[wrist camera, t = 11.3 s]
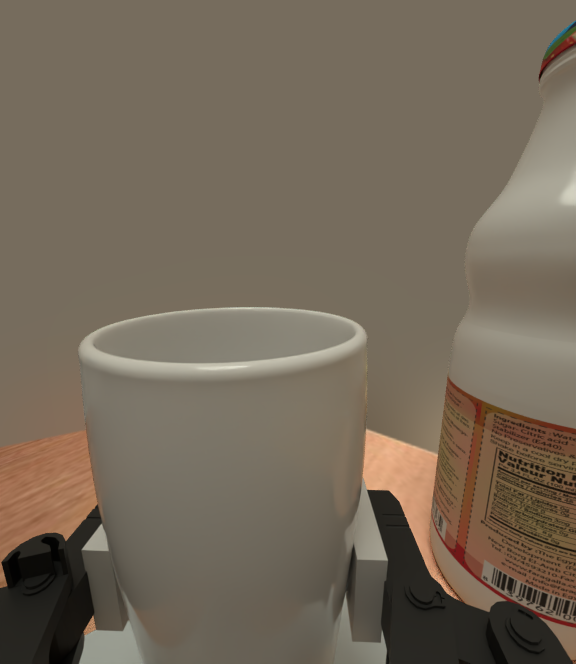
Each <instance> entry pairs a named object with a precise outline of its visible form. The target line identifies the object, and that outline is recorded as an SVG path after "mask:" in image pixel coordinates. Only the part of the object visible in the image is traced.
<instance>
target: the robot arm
mask: <svg viewBox="0 0 576 664" xmlns="http://www.w3.org/2000/svg"><path fill="white" fill-rule="evenodd" d="M1 563H2V566H3V570H4V574H5V578H6V582H7V587H3V588H0V664H79V662H80V659H81V655H82V652H83V649H84V641H85V637H84V632H83V631H84V630H85V628H86V626H87V625H88V623H89V621H90V620H91V618H92V616H93V615H94V620H95V626H96V630H103V631H123V630H124V628H125V626H126V624H127V622H128V620H129V619H128V616H127V613H126V609H125V606H124V603H123V599H122V596H121V593H120V589H119V586H118V583H117V579H116V576H115V572H114V569H113V565H112V562H111V558H110V554H109V550H108V546H107V542H106V538H105V534H104V530H103V526H102V521H101V517H100V512H99V507H98V504H97V505H96V506H95V509H93V510H92V511H91V512H90V514H89V515H88V516H87V518H86V519H85V520H84V521H83V522H82V523H81V524H80V525H79V527H78V528H77V529H76V530H75V531H74V533H73V534H72V535H71V536H70V537H69V538H68V540H67V541H65V539H64V537H63V535H61V534H58V533H45V534H42V535H39V536H36V537H33V538H31V539H29V540H28V541H26V542H24V543H22V544H20V545H19V546H18V547H17V548H15V549H14V550H13V551H11V552H10V553H9V554H8V555H7V556H6V558H5V559H4V560H3V561H2V562H1ZM346 600H347V607H348V614H349V621H350V628H351V635H352V642H373V643H381V635H382V631H383V636H384V640H385V644H386V649H387V653H386V664H573V662H572V660H571V659H570V657H569V656H568V654H567V652H566V651H565V649H564V648H563V646H562V644H561V643H560V641H559V640H558V638H557V637H556V635H555V634H554V633H553V631H552V630H551V629H550V628H549V626H548V625H547V624H546V623H545V622H544V621H543V620H542V619H540V618H539V617H538V616H537V615H536V614H535V613H533V612H532V611H530V610H528V609H527V608H525V607H523V606H521V605H520V604H516V603H513V602H509V601H499V602H496V603H495V604H494V605H492V606H491V607H490V612H487V611H485V610H482V609H479V608H476V607H474V606H471V605H468V604H465V603H463V602H461V601H459V600H456V599H454V598H453V597H451V596H450V595H448V594H447V593H446V592H445V591H444V589H443V588H442V586H441V585H440V584H439V583H438V582H437V581H436V580H435V579H434V578H432V577H431V575H430V573H429V571H428V569H427V567H426V564H425V562H424V560H423V557H422V555H421V553H420V550H419V548H418V545H417V543H416V541H415V538H414V536H413V533H412V531H411V529H410V528H409V524H408V522H407V519H406V517H405V514H404V512H403V510H402V507H401V505H400V502H399V501H398V500H397V499H396V498H395V497H394V496H393V495H392V493H391V492H390V491H385V490H367V489H366V485H365V482H364V479H362V488H361V497H360V505H359V512H358V520H357V526H356V533H355V539H354V546H353V552H352V558H351V564H350V570H349V576H348V582H347V587H346Z"/></svg>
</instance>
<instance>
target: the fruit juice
mask: <svg viewBox="0 0 576 664" xmlns="http://www.w3.org/2000/svg"><path fill="white" fill-rule="evenodd" d="M539 83H540V85H539V89H538V90H539V94H540V96H541V98H542V99H544V103H543V107H542V111H541V114H540V116H539V119H538V121H537V124H536V126H535V128H534V131H533V133H532V135H531V138H530V139H529V142H528V144H527V146H526V148H525V150H524V152H523V154H522V156H521V158H520V161H519V163H518V165H517V167H516V169H515V170H514V172H513V174H512V177H511V178H510V180H509V182H508V183H507V185H506V187H505V188H504V190H503V191H502V193H501V194H500V195H499V197H498V198H497V199H496V200H495V201H494V203H493V204H492V205H491V206H490V207H489V208H488V210H487V211H486V212H485V213H484V215H483V216H482V217H481V219H480V220H479V221H478V222H477V224H476V225H475V227H474V229H473V231H472V233H471V235H470V238H469V242H468V245H467V250H466V256H465V271H466V278H467V283H468V289H469V295H470V298H469V307H468V310H467V312H466V314H465V316H464V318H463V319H462V321H461V322H460V324H459V325H458V328H457V330H456V333H455V336H454V340H453V345H452V349H451V355H450V360H449V366H448V377H447V387H446V395H445V403H444V411H443V419H442V428H441V436H440V444H439V452H438V460H437V468H436V476H435V485H434V493H433V501H432V509H431V517H430V541H431V546H432V550H433V554H434V557H435V559H436V562H437V564H438V566H439V568H440V570H441V572H442V574H443V575H444V577H445V579H446V580H447V582H448V583H449V584H450V586H451V587H452V588H453V590H454V591H455V592H456V593H457V595H458V596H459V597H460V598H461V599H462V600H463V601H464V602H465V603H466V604H468V605H471V606H474V607H476V608H479V609H482V610H485V611H487V612H490V607H491V606H492V605H494V604H495V603H496V602H499V601H509V602H513V603H516V604H520V605H521V606H523V607H525V608H527V609H528V610H530V611H532V612H533V613H535V614H536V615H537V616H538V617H539V618H540V619H542V620H543V621H544V622H545V623H546V624H547V625H548V626H549V628H550V629H551V630H552V631H553V633H554V634H555V635H556V637H557V638H558V640H559V641H560V643H561V644H562V646H563V648H564V649H565V651H566V652H567V654H568V656H569V657H570V659H571V660H576V21H575V22H573V23H572V24H571V25H569V26H568V27H567V28H566V29H564V30H563V31H562V32H561V33H560V34H559V35H558V36H557V37H556V38H555V39H554V40H553V41H552V43H551V44H550V45H549V47H548V49H547V51H546V53H545V56H544V58H543V62H542V66H541V70H540V74H539Z"/></svg>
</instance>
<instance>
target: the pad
mask: <svg viewBox="0 0 576 664" xmlns="http://www.w3.org/2000/svg"><path fill="white" fill-rule="evenodd" d="M84 637H85V641H84V649H83V652H82V655H81V659H80V662H79V664H142V662H141V659H140V656H139V652H138V649H137V646H136V642H135V639H134V636H133V633H132V629H131V626H130V623H129V620H128V622H127V624H126V626H125V628H124V630H123V631H103V630H94V631H93V632H91V633H89V634H87V635H85V636H84ZM386 653H387V649H386V644H385V640H384V636H383V631H382V635H381V643H373V642H352V635H351V628H350V621H349V614H348V607H347V600H346V593H345V599H344V605H343V611H342V617H341V623H340V630H339V636H338V642H337V648H336V654H335V661H334V664H386Z"/></svg>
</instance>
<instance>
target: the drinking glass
mask: <svg viewBox="0 0 576 664" xmlns="http://www.w3.org/2000/svg"><path fill="white" fill-rule="evenodd" d="M367 343H368V338H367V334H366V331H365V330H364V328H363V327H361V326H360V325H359V324H358V323H356V322H354V321H352V320H350V319H347V318H344V317H341V316H337V315H333V314H328V313H323V312H317V311H309V310H299V309H288V308H265V307H263V308H262V307H237V308H212V309H198V310H186V311H177V312H169V313H161V314H155V315H149V316H143V317H139V318H133V319H129V320H125V321H121V322H117V323H114V324H111V325H108V326H105V327H103V328H100V329H98V330H96V331H94V332H92V333H91V334H89V335H88V336H87V337H85V338H84V339H83V340H82V342H81V343H80V345H79V350H78V356H79V363H80V371H81V384H82V396H83V406H84V416H85V425H86V434H87V441H88V449H89V456H90V463H91V469H92V475H93V481H94V487H95V492H96V498H97V502H98V507H99V512H100V517H101V521H102V526H103V530H104V534H105V538H106V542H107V546H108V550H109V554H110V558H111V562H112V565H113V569H114V572H115V576H116V579H117V583H118V586H119V589H120V593H121V596H122V599H123V603H124V606H125V609H126V613H127V616H128V619H129V623H130V626H131V629H132V633H133V636H134V639H135V642H136V646H137V649H138V652H139V656H140V659H141V662H142V664H334V661H335V654H336V648H337V642H338V636H339V630H340V623H341V617H342V611H343V605H344V599H345V593H346V587H347V582H348V576H349V570H350V564H351V558H352V552H353V546H354V539H355V533H356V526H357V520H358V512H359V505H360V497H361V488H362V479H363V468H364V456H365V441H366V420H367V419H366V418H367Z"/></svg>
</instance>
